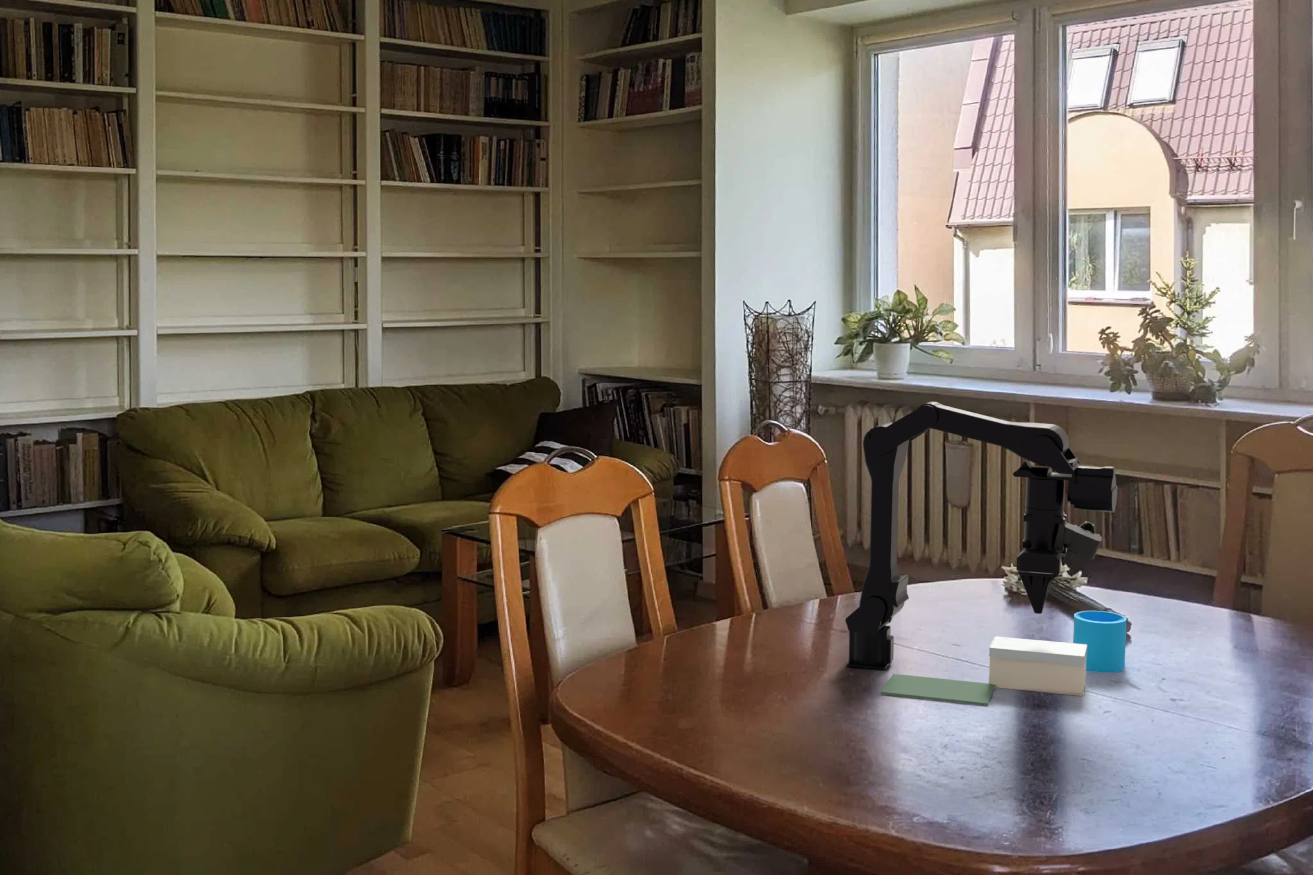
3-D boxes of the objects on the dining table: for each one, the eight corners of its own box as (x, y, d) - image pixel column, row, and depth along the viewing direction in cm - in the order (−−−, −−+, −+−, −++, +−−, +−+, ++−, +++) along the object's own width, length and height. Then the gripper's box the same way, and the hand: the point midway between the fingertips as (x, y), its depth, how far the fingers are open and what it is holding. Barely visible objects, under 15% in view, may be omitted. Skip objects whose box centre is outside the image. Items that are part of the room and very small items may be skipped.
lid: (989, 661, 207) (989, 647, 207) (994, 649, 214) (995, 636, 214) (1083, 670, 202) (1084, 656, 202) (1086, 658, 209) (1087, 644, 209)
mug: (1111, 675, 214) (1113, 626, 213) (1063, 666, 220) (1065, 617, 219) (1142, 660, 223) (1144, 612, 222) (1095, 651, 228) (1097, 604, 227)
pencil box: (988, 686, 209) (989, 655, 208) (993, 676, 214) (994, 645, 213) (1083, 696, 204) (1084, 664, 203) (1085, 685, 209) (1086, 654, 208)
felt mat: (880, 694, 205) (880, 691, 205) (893, 676, 214) (893, 673, 214) (987, 705, 199) (987, 703, 199) (995, 686, 208) (995, 684, 208)
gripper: (1097, 521, 194) (1092, 626, 196) (1102, 500, 212) (1097, 597, 214) (1018, 515, 198) (1014, 619, 200) (1029, 496, 215) (1025, 591, 217)
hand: (1040, 606), depth 208 cm, fingers open, 9 cm apart
